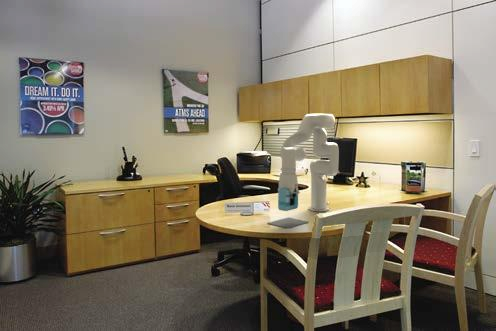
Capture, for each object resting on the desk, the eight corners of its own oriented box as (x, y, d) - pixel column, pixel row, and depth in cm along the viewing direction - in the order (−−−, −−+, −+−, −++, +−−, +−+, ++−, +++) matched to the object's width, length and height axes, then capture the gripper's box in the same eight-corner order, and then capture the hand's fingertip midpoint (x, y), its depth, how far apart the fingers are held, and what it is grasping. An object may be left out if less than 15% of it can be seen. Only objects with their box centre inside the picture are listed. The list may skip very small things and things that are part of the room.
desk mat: (288, 218, 225) (288, 217, 225) (308, 222, 215) (308, 221, 215) (267, 223, 213) (267, 222, 213) (287, 228, 203) (287, 227, 203)
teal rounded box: (284, 211, 207) (284, 189, 206) (277, 210, 210) (278, 188, 209) (298, 208, 216) (298, 186, 215) (291, 207, 219) (291, 185, 218)
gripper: (272, 170, 215) (271, 203, 216) (296, 172, 203) (296, 207, 204) (281, 169, 220) (280, 201, 222) (305, 171, 208) (305, 205, 210)
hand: (288, 204), depth 213 cm, fingers closed on teal rounded box, 4 cm apart
